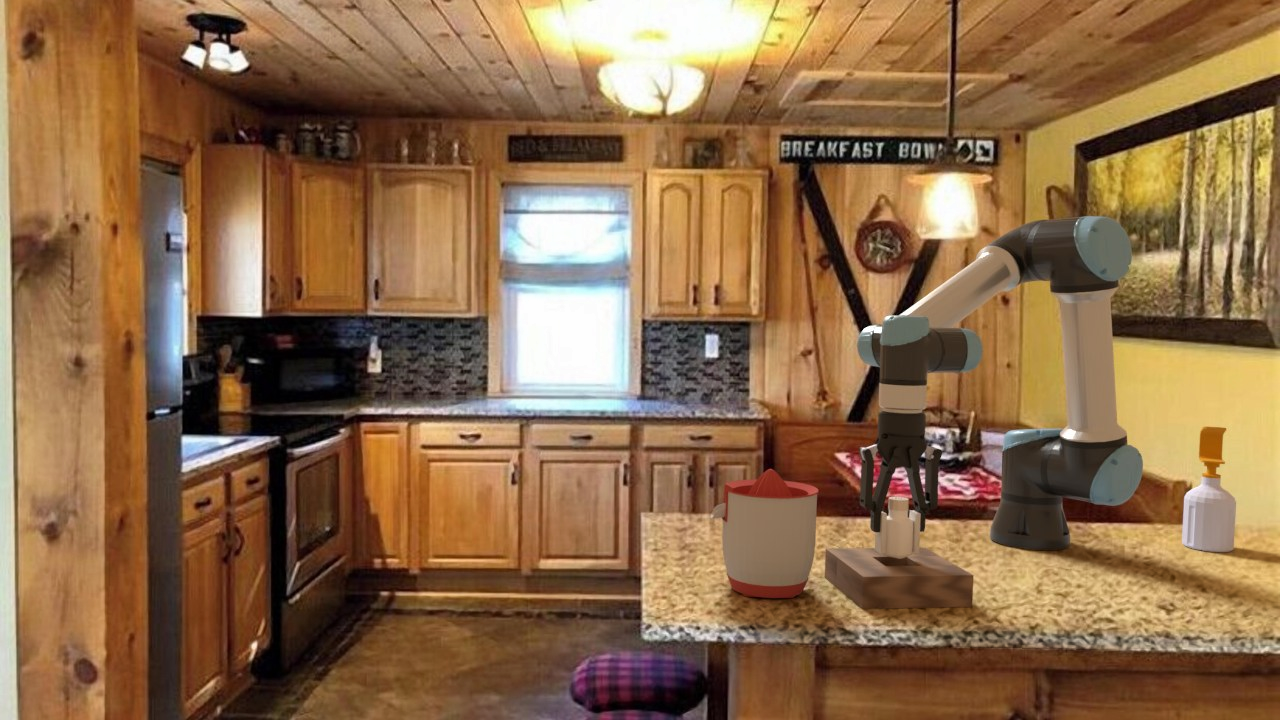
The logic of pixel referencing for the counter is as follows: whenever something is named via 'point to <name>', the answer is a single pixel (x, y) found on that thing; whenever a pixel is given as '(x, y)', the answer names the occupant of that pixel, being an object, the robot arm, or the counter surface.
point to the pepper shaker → (899, 529)
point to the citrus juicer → (768, 535)
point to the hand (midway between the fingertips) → (896, 551)
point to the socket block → (898, 579)
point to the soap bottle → (1209, 501)
